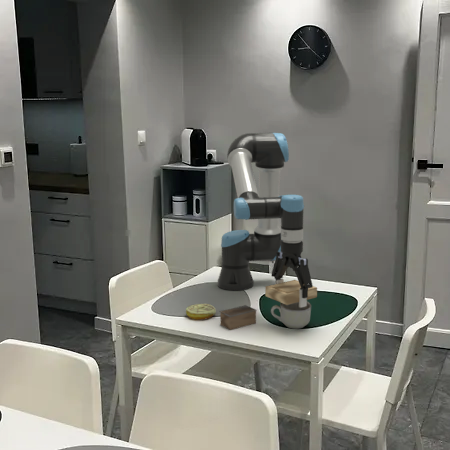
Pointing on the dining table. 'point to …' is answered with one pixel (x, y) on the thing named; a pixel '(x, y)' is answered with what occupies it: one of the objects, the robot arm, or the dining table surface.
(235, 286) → the robot arm
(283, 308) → the teacup
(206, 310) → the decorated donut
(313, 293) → the cover board
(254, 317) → the brown rectangular block
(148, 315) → the dining table surface
